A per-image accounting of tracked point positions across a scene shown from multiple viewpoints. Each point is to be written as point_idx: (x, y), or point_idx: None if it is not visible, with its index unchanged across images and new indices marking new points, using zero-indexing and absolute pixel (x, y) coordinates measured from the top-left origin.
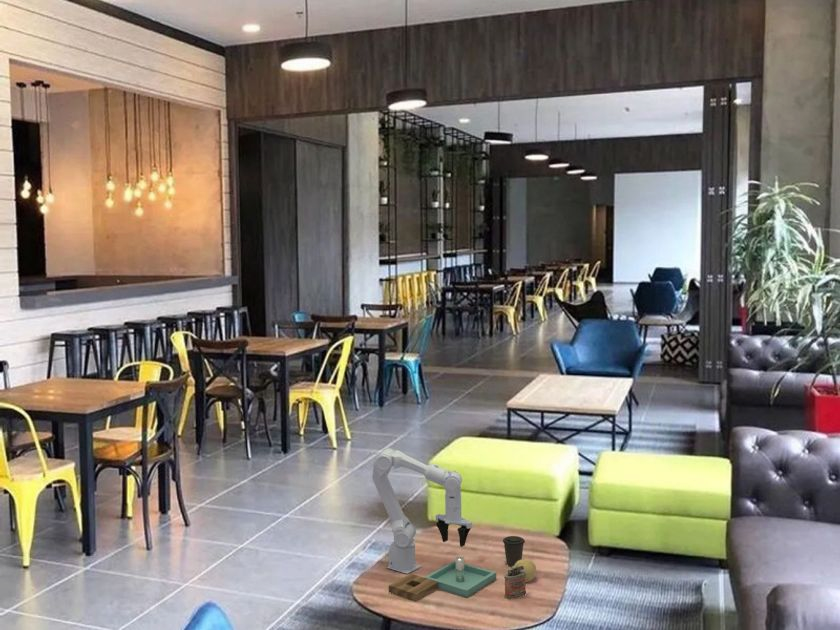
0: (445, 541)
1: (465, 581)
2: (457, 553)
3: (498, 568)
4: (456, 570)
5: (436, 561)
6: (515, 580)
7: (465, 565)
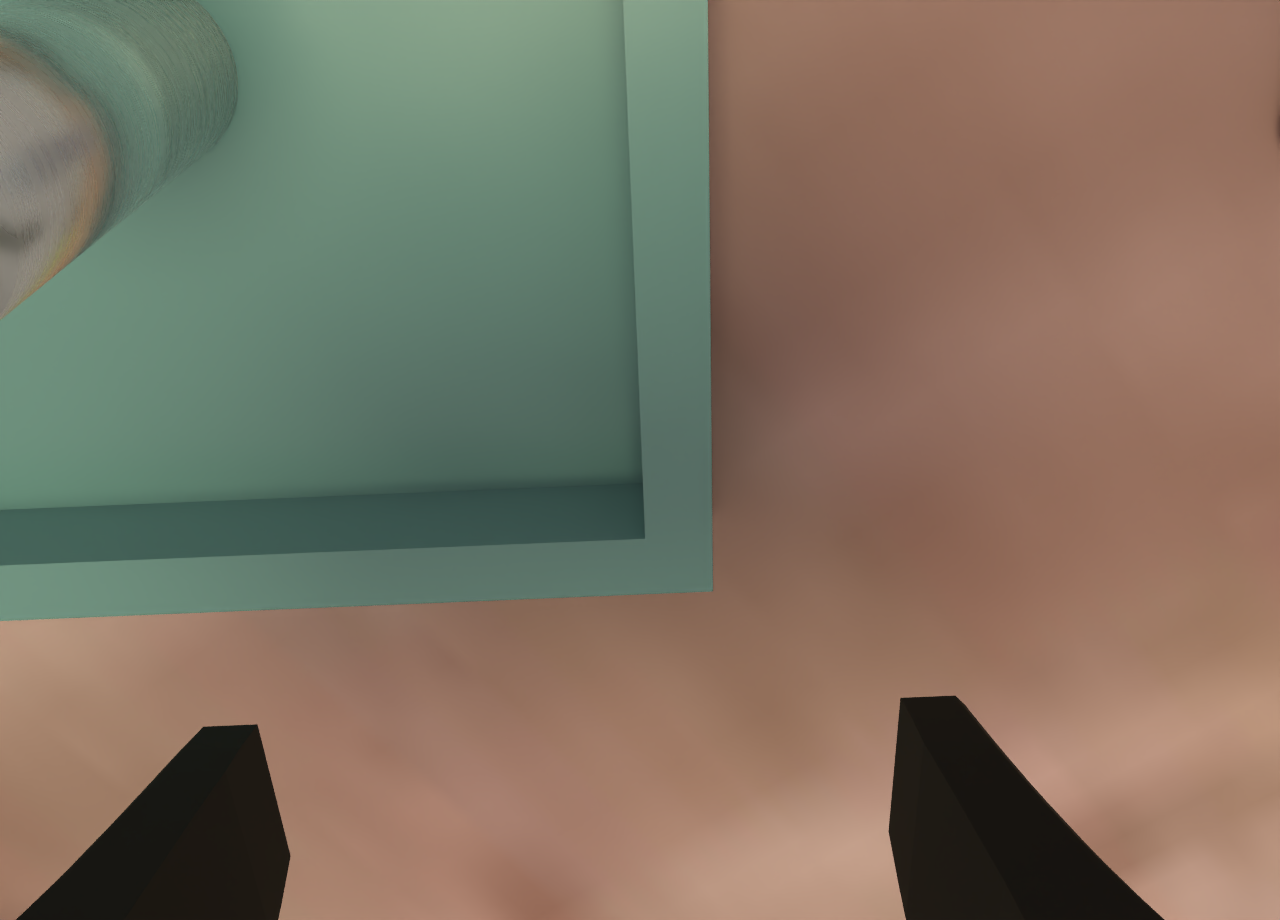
0: (896, 751)
1: None
2: None
3: None
4: (41, 14)
5: (1126, 526)
6: None
7: (394, 548)
